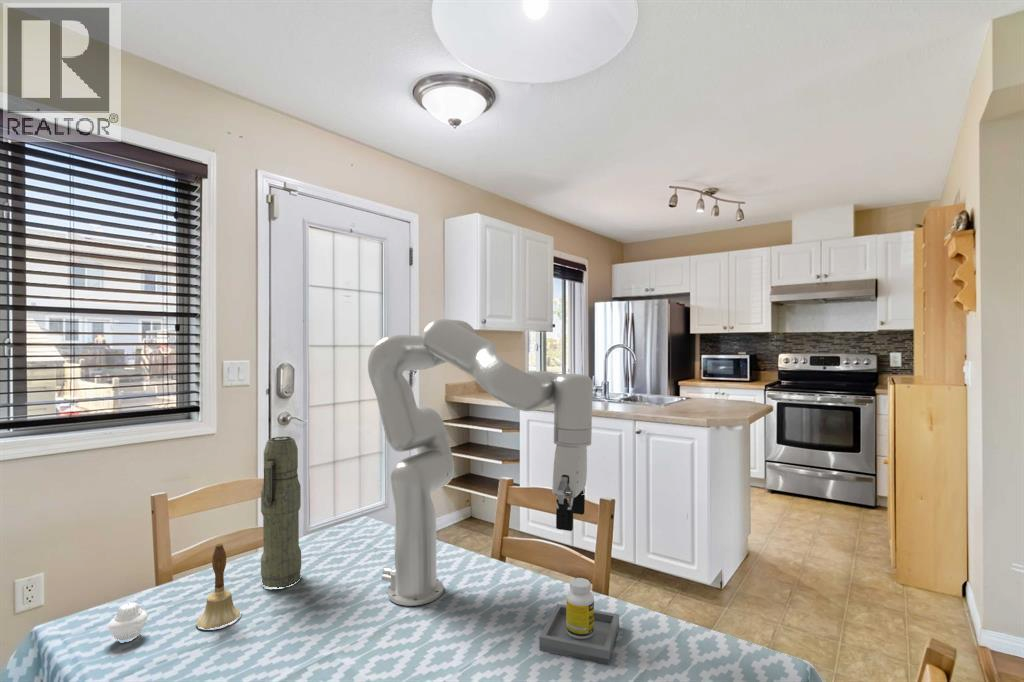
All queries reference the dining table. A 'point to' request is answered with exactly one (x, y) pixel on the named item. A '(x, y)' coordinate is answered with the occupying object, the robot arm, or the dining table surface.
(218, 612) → the hand bell
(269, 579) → the thermos
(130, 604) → the white tiered dome
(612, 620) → the tray
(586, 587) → the supplement bottle
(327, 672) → the dining table surface
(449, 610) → the dining table surface
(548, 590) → the dining table surface
